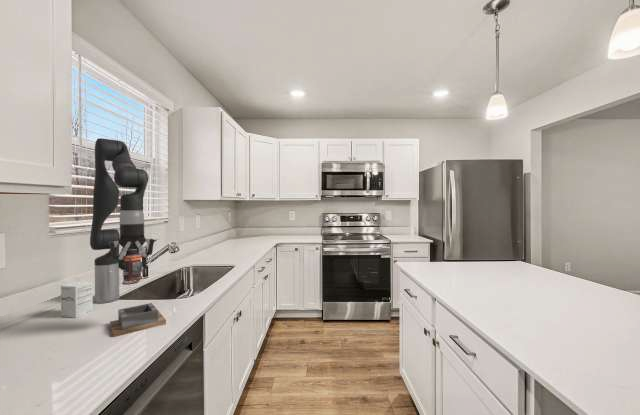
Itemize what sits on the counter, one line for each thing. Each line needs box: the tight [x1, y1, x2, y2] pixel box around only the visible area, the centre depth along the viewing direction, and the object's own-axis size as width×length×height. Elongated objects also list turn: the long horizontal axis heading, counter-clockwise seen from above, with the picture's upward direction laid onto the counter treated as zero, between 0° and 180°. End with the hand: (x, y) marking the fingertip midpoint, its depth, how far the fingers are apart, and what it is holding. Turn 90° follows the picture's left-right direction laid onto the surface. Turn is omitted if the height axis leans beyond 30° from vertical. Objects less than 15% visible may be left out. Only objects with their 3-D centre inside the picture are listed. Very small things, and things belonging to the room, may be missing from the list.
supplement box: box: [60, 280, 94, 319], centre depth 118 cm, size 7×7×13 cm
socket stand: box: [109, 302, 167, 338], centre depth 107 cm, size 12×16×6 cm
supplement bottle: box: [122, 249, 143, 282], centre depth 106 cm, size 6×6×11 cm
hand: (132, 268), depth 106 cm, fingers closed on supplement bottle, 6 cm apart
